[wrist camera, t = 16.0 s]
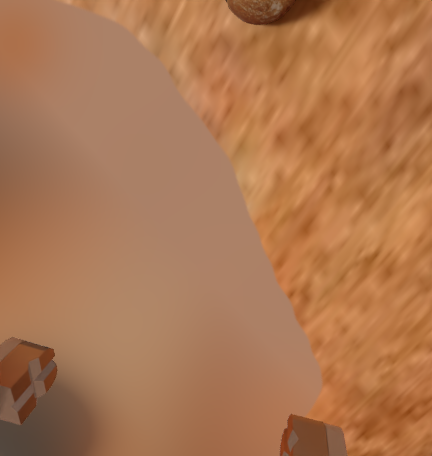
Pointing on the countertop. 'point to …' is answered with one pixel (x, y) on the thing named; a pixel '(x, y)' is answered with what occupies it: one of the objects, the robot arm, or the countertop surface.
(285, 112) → the countertop surface
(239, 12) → the bread roll
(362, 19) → the countertop surface
